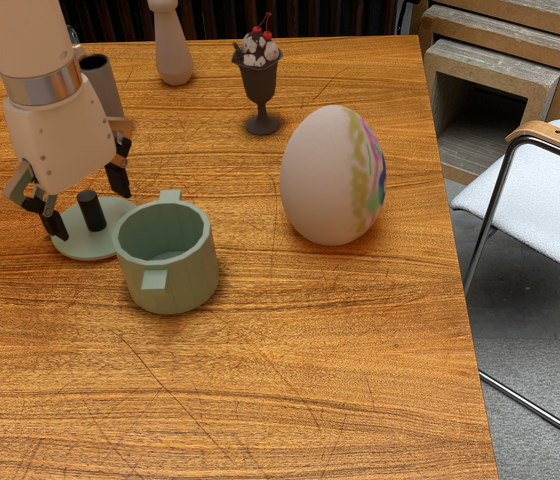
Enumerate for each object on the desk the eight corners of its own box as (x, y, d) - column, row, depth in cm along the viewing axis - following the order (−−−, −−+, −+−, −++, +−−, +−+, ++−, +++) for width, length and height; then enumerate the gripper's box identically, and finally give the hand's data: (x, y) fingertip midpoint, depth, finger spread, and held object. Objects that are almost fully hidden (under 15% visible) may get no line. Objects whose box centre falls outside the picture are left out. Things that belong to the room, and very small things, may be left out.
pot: (118, 334, 69) (99, 285, 63) (139, 236, 78) (124, 185, 72) (213, 332, 68) (203, 282, 62) (223, 233, 78) (215, 182, 72)
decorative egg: (389, 254, 74) (402, 139, 62) (284, 262, 74) (277, 148, 62) (375, 188, 81) (383, 74, 69) (279, 196, 82) (272, 83, 70)
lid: (44, 266, 76) (26, 229, 72) (64, 204, 83) (49, 168, 78) (138, 262, 75) (126, 225, 71) (151, 201, 82) (141, 164, 78)
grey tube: (91, 132, 93) (68, 62, 85) (117, 119, 94) (97, 49, 86) (107, 144, 91) (86, 74, 82) (134, 131, 92) (115, 61, 84)
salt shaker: (202, 73, 101) (188, -16, 91) (184, 91, 98) (168, 1, 88) (170, 67, 103) (153, -21, 92) (152, 84, 100) (132, -5, 89)
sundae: (295, 120, 92) (291, 10, 80) (268, 143, 89) (260, 33, 77) (258, 107, 94) (248, -1, 82) (231, 130, 91) (217, 21, 79)
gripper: (86, 32, 69) (125, 168, 82) (-54, 103, 61) (14, 240, 75) (132, 52, 65) (164, 190, 79) (-10, 130, 58) (53, 267, 72)
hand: (91, 214), depth 77 cm, fingers open, 9 cm apart
